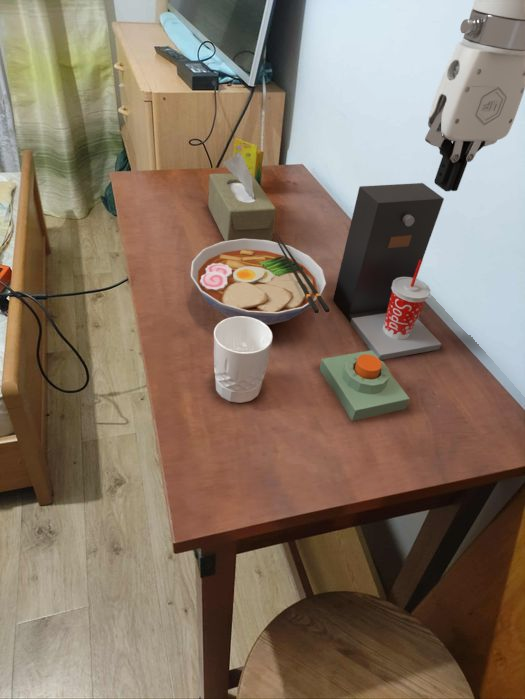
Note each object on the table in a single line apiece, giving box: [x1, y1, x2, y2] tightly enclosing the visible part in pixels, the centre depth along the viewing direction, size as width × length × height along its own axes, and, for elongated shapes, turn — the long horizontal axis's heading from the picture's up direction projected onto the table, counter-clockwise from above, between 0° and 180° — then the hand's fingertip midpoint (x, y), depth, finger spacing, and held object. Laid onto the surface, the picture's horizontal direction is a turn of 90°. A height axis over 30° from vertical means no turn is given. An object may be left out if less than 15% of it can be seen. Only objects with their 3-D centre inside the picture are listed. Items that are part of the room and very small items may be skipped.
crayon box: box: [232, 137, 265, 187], centre depth 125 cm, size 7×3×12 cm, turn 52°
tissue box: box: [207, 153, 277, 242], centre depth 108 cm, size 19×10×16 cm, turn 17°
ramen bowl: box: [190, 232, 331, 326], centre depth 87 cm, size 25×23×8 cm
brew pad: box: [318, 349, 410, 422], centre depth 76 cm, size 11×9×4 cm
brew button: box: [355, 354, 382, 379], centre depth 74 cm, size 4×4×2 cm
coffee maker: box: [332, 182, 445, 361], centre depth 83 cm, size 17×12×22 cm
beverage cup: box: [383, 259, 432, 340], centre depth 83 cm, size 6×6×14 cm
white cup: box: [213, 316, 274, 404], centre depth 71 cm, size 8×8×10 cm
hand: (445, 186), depth 70 cm, fingers closed
